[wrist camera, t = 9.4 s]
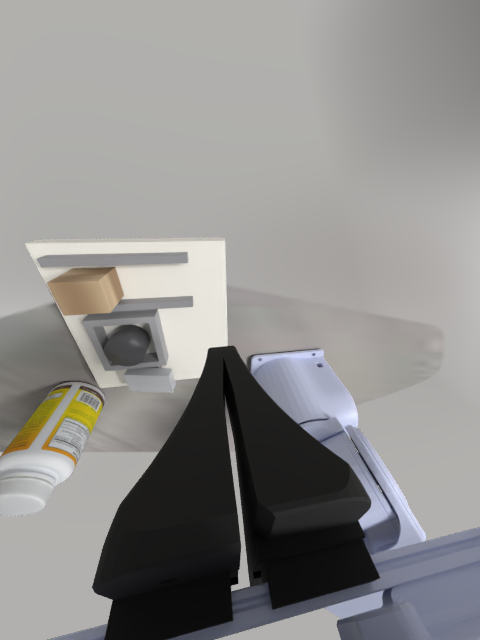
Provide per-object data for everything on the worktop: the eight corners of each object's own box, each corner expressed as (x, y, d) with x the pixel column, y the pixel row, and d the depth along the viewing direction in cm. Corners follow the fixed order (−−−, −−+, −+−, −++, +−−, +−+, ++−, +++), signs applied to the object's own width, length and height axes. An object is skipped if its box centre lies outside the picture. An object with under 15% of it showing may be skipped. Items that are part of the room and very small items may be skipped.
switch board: (223, 237, 17) (226, 244, 15) (227, 365, 25) (229, 383, 23) (39, 239, 15) (8, 247, 13) (105, 377, 23) (94, 399, 21)
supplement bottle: (51, 406, 24) (-33, 522, 16) (53, 374, 22) (-43, 490, 13) (103, 412, 26) (54, 519, 18) (110, 384, 24) (58, 491, 15)
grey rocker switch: (172, 368, 20) (168, 376, 19) (175, 384, 21) (172, 392, 21) (128, 367, 20) (123, 374, 19) (134, 383, 21) (130, 391, 21)
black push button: (146, 323, 18) (140, 336, 17) (153, 350, 20) (148, 364, 18) (107, 325, 18) (98, 339, 16) (118, 353, 19) (110, 368, 18)
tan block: (115, 267, 16) (98, 280, 13) (124, 295, 17) (110, 312, 14) (72, 268, 15) (46, 282, 13) (85, 297, 16) (63, 315, 14)
